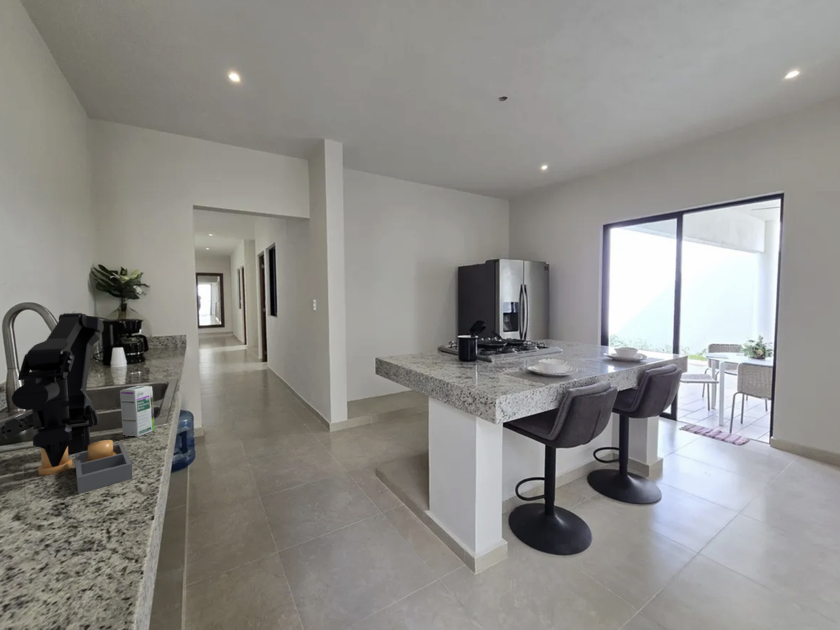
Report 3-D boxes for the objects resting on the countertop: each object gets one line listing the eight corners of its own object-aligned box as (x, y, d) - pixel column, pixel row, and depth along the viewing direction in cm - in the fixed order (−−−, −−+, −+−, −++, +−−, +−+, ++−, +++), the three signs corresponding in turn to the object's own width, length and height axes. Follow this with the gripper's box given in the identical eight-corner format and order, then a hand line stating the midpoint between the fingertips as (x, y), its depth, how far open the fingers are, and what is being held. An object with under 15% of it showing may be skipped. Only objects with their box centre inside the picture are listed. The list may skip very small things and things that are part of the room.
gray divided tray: (75, 467, 88) (74, 443, 88) (123, 455, 94) (122, 433, 94) (78, 494, 76) (76, 466, 75) (132, 478, 82) (131, 453, 82)
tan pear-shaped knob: (39, 470, 87) (37, 442, 87) (72, 462, 91) (70, 435, 91) (38, 478, 83) (36, 448, 83) (72, 469, 87) (70, 441, 87)
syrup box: (137, 437, 107) (135, 390, 106) (121, 436, 108) (119, 389, 108) (155, 430, 113) (153, 385, 112) (140, 429, 114) (137, 384, 113)
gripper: (4, 398, 87) (9, 460, 88) (-5, 415, 74) (0, 488, 75) (68, 389, 95) (72, 446, 96) (70, 403, 82) (74, 469, 83)
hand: (55, 461), depth 87 cm, fingers open, 8 cm apart
